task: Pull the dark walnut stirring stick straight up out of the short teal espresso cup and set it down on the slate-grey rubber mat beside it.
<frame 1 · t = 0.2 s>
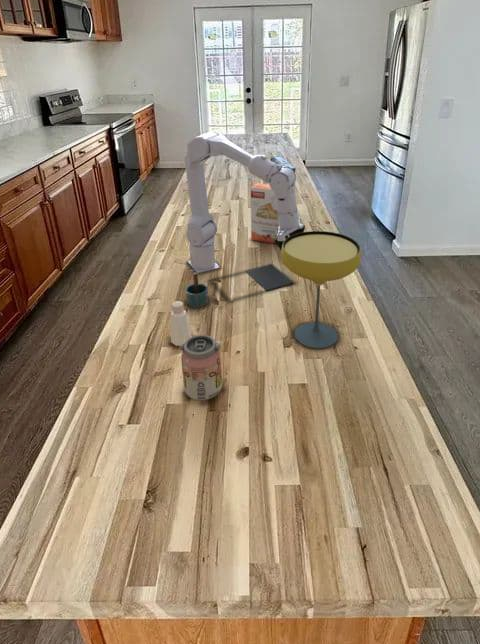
hand: (293, 254, 128), 11 cm above the countertop, tool pointing down, fingers open, 7 cm apart
beverage can: (203, 387, 95), on the countertop
espresso cup: (197, 302, 126), on the countertop
blue upright flat box: (281, 215, 188), on the countertop
stirring stick: (197, 300, 125), resting on espresso cup
mat: (251, 282, 135), on the countertop
cracker box: (270, 240, 164), on the countertop
cocktail glass: (315, 335, 110), on the countertop
pepper shaker: (181, 341, 110), on the countertop
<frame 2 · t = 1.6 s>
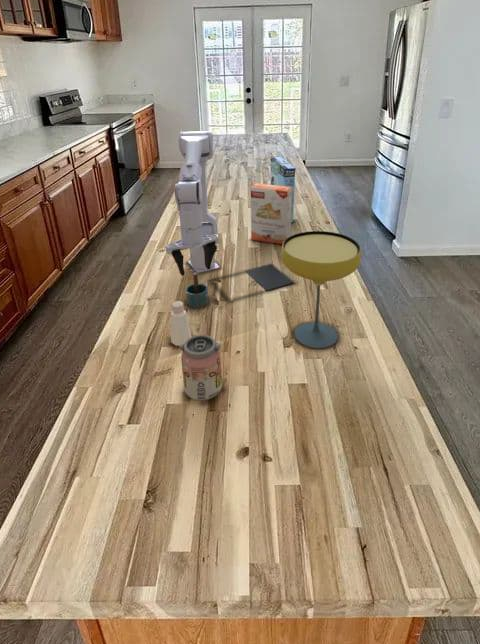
hand: (195, 270, 121), 10 cm above the countertop, tool pointing down, fingers open, 7 cm apart
nothing on the countertop moved.
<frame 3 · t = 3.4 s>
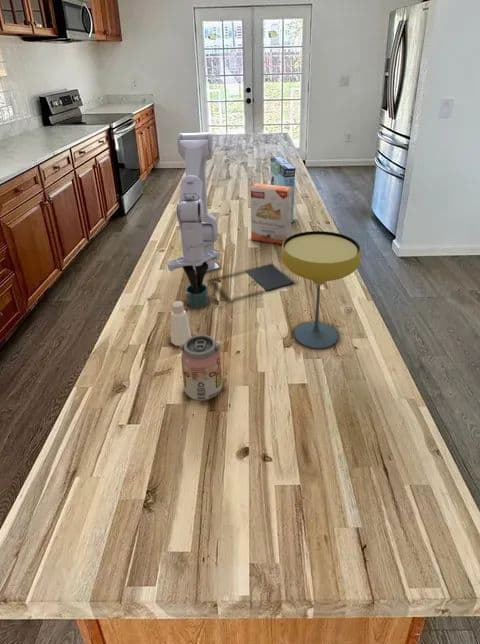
hand: (196, 286, 123), 5 cm above the countertop, tool pointing down, fingers closed on stirring stick, 1 cm apart
stirring stick: (197, 300, 125), point 1 cm above the countertop, touching gripper
everything else where it was.
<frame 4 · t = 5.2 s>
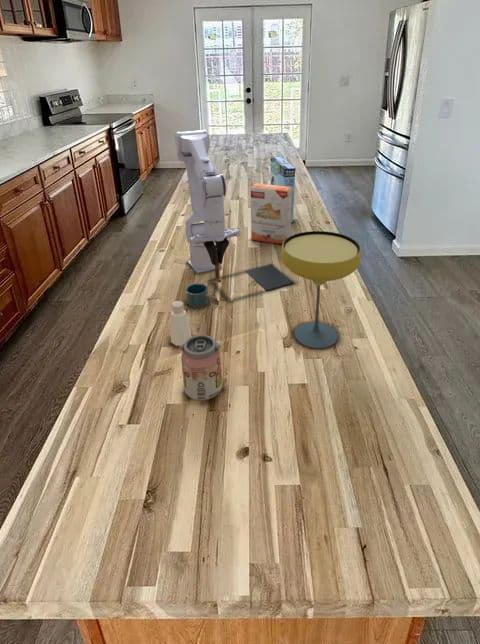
hand: (216, 263, 125), 10 cm above the countertop, tool pointing down, fingers closed on stirring stick
stirring stick: (217, 277, 127), point 6 cm above the countertop, touching gripper
everything else where it was.
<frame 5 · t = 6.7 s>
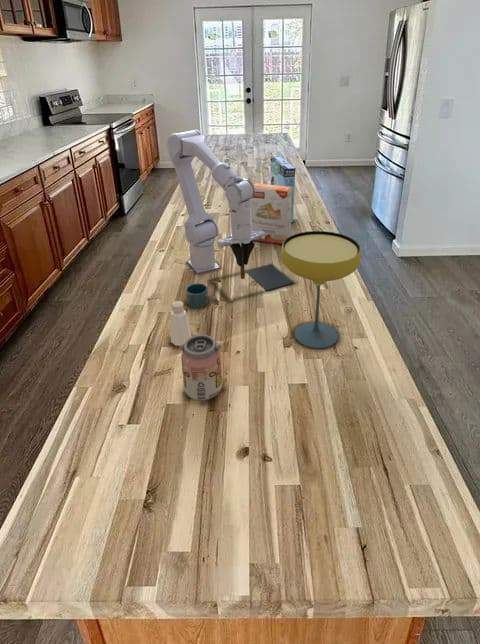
hand: (242, 264, 131), 7 cm above the countertop, tool pointing down, fingers closed on stirring stick, 1 cm apart
stirring stick: (242, 278, 133), point 2 cm above the countertop, touching gripper
everything else where it was.
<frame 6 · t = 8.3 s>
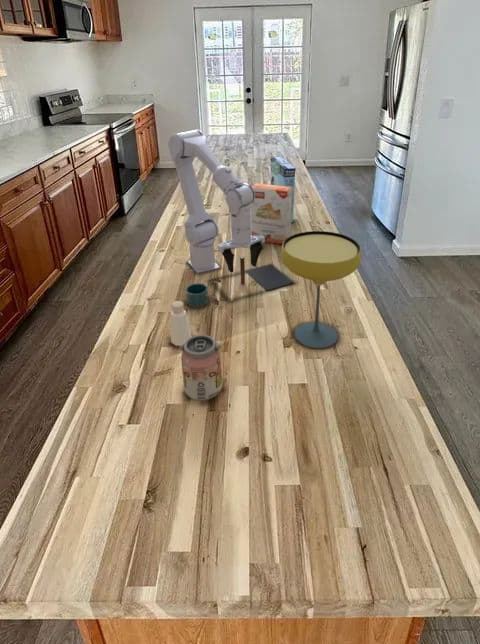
hand: (242, 268, 132), 6 cm above the countertop, tool pointing down, fingers open, 7 cm apart
stirring stick: (242, 283, 134), resting on mat
everything else where it was.
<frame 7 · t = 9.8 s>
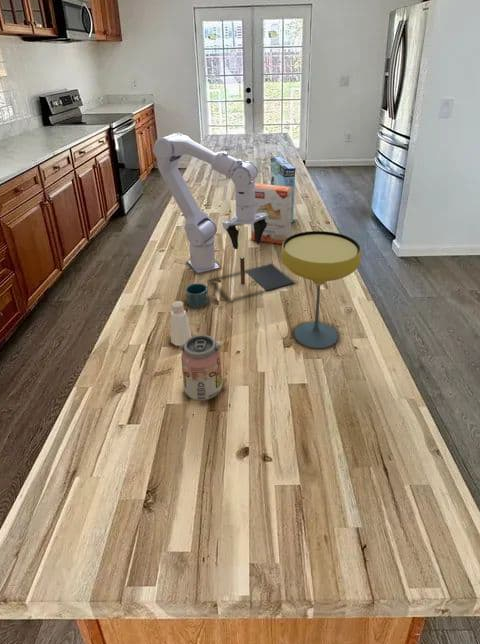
hand: (246, 245, 135), 10 cm above the countertop, tool pointing down, fingers open, 7 cm apart
nothing on the countertop moved.
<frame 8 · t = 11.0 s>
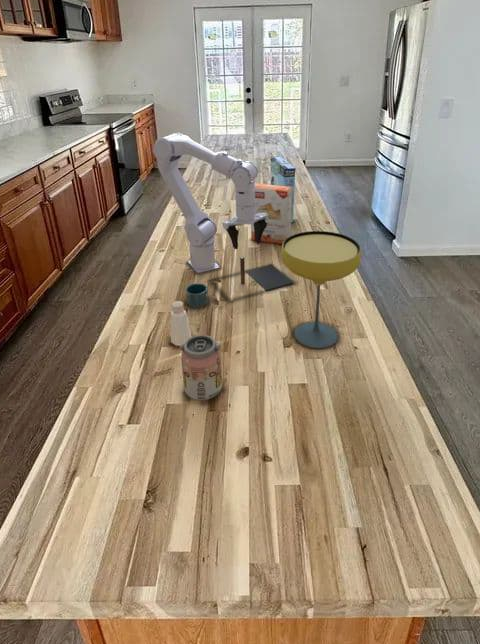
hand: (246, 245, 135), 10 cm above the countertop, tool pointing down, fingers open, 7 cm apart
nothing on the countertop moved.
at the end: stirring stick inside the target area (3.0 cm from its centre), resting on mat; stirring stick touching mat; the gripper is holding nothing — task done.
